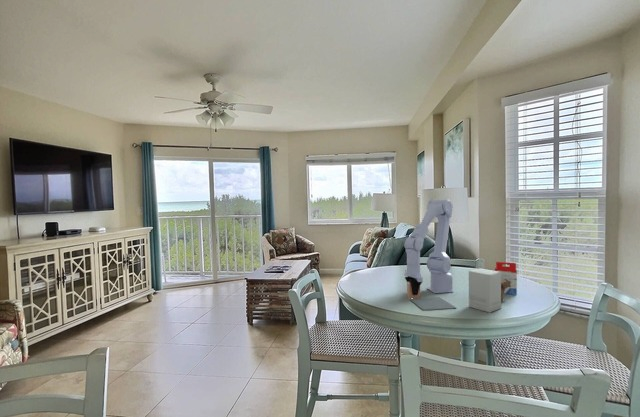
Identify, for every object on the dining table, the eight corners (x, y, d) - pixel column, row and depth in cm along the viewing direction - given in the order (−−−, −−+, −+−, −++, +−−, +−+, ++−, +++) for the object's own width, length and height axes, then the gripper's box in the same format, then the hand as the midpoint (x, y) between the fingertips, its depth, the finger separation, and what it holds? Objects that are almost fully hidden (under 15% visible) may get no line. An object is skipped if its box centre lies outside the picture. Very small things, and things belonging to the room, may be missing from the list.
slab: (417, 296, 145) (417, 281, 145) (420, 298, 142) (420, 282, 142) (407, 296, 144) (407, 281, 144) (409, 298, 142) (409, 283, 141)
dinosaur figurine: (497, 296, 143) (497, 276, 143) (511, 299, 138) (511, 278, 138) (480, 302, 136) (480, 280, 136) (494, 305, 131) (494, 283, 131)
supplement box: (502, 308, 128) (502, 271, 127) (489, 313, 123) (489, 274, 122) (480, 302, 135) (480, 267, 135) (467, 306, 130) (468, 270, 130)
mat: (439, 297, 142) (439, 297, 142) (456, 308, 128) (456, 307, 128) (409, 299, 140) (409, 298, 140) (423, 310, 127) (423, 309, 127)
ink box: (515, 292, 149) (515, 261, 149) (516, 295, 145) (516, 263, 144) (494, 290, 153) (494, 259, 152) (495, 293, 148) (495, 261, 148)
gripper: (398, 261, 150) (399, 289, 150) (411, 267, 135) (411, 299, 136) (413, 260, 150) (413, 288, 151) (427, 267, 136) (427, 298, 136)
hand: (413, 293), depth 143 cm, fingers closed on slab, 3 cm apart
